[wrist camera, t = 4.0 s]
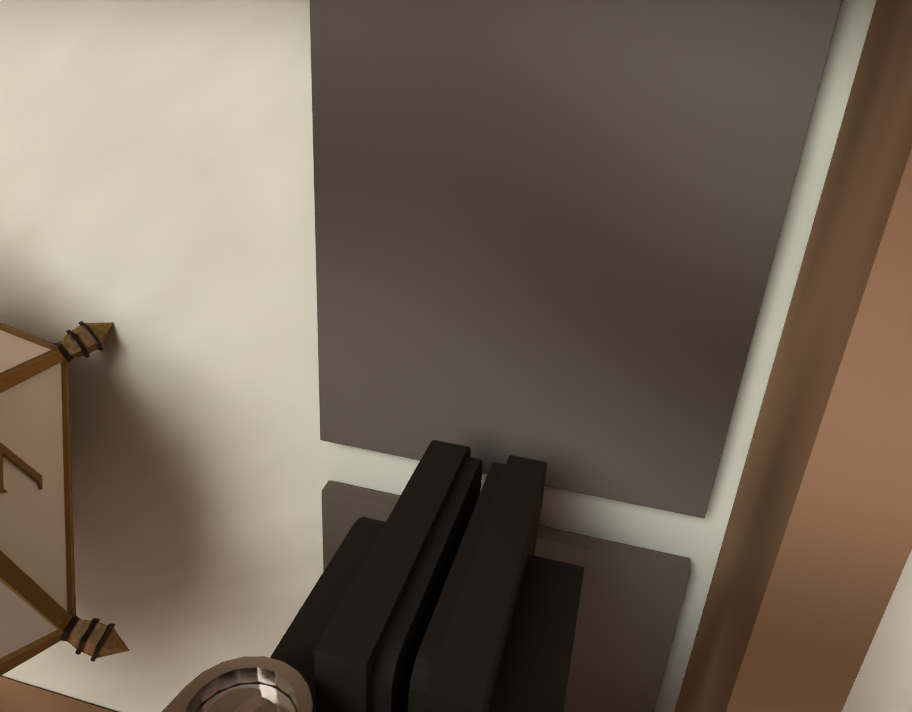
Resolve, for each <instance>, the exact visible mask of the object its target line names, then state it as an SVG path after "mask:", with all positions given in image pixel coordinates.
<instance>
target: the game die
mask: <svg viewBox="0 0 912 712" xmlns="http://www.w3.org/2000/svg"><path fill="white" fill-rule="evenodd" d="M79 324H80V326H79V327H77V328H76V329H74V330H72V331H71V330H67V331H66V332H67V335H66V336H65V337H64V338H63V339H62V340H61V341H60V342H59V343H55V344H52V343H50V342H47V341H45V340H42V339H40V338H37V337H35V336H32V335H30V334H27V333H24V332H22V331H19V330H17V329H14V328H12V327H9V326H7V325H4V324H2V323H0V676H1V675H3V674H5V673H6V672H8V671H10V670H11V669H13V668H15V667H16V666H18V665H20V664H22V663H23V662H25V661H27V660H28V659H30V658H32V657H33V656H35V655H37V654H39V653H40V652H42V651H44V650H45V649H47V648H49V647H51V646H52V645H54V644H56V643H57V642H59V641H61V640H62V641H68V642H69V643H70V644H71V645H73V646H74V647H75V648H76V649H77V650H76V654H78V655H79V654H80V653H81V652H83V653H85V654H88V655H90V656H92V657H91V661H93V662H94V661H95V659H96V658H98V657H102V656H107V655H112V654H116V653H121V652H125V651H129V649H128V648H127V646H126V645H125V643H124V642H123V641H122V639H121V638H120V636H119V635H118V633H117V632H116V631H115V629H114V626H115V624H112V623H110V624H109V625H105V624H102V623H99V620H100V619H97V618H93V619H92V621H89V620H81V619H79V618H78V617H77V616H76V601H75V569H74V538H73V506H72V474H71V442H70V411H69V379H68V362H69V361H71V360H72V359H74V358H78V357H81V356H85V357H86V358H88V357H89V353H91V352H93V351H94V350H96V349H99V350H100V351H101V350H103V348H102V344H103V342H104V340H105V338H106V336H107V334H108V332H109V330H110V328H111V326H112V324H113V323H84V322H82V321H81V322H79Z"/></svg>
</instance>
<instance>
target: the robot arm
mask: <svg viewBox="0 0 912 712" xmlns="http://www.w3.org/2000/svg"><path fill="white" fill-rule="evenodd" d="M482 468H483V461H482V459H477V458H472V457H471V449H470V447H468V446H463V445H458V444H453V443H448V442H443V441H438V440H432V441H431V443H430V444H429V446H428V448H427V450H426V451H425V453H424V455H423V457H422V458H421V460H420V462H419V464H418V466H417V467H416V469H415V471H414V473H413V475H412V476H411V478H410V480H409V482H408V483H407V485H406V487H405V489H404V491H403V492H402V494H401V496H400V498H399V499H398V501H397V503H396V505H395V507H394V508H393V510H392V512H391V514H390V516H389V517H388V519H387V521H386V522H384V521H380V520H376V519H371V518H367V517H361V518H359V519H357V521H356V522H355V523H354V524H353V526H352V527H351V529H350V530H349V532H348V534H347V535H346V537H345V538H344V540H343V542H342V543H341V545H340V546H339V548H338V550H337V551H336V553H335V554H334V556H333V558H332V559H331V561H330V562H329V564H328V566H327V567H326V569H325V571H324V572H323V574H322V575H321V577H320V579H319V580H318V582H317V583H316V585H315V587H314V588H313V590H312V591H311V593H310V595H309V596H308V598H307V599H306V601H305V603H304V604H303V606H302V607H301V609H300V611H299V612H298V614H297V615H296V617H295V619H294V620H293V622H292V623H291V625H290V627H289V628H288V630H287V631H286V633H285V635H284V636H283V638H282V639H281V641H280V643H279V644H278V646H277V647H276V649H275V651H274V652H273V654H272V656H271V657H270V658H268V657H241V658H237V659H233V660H229V661H225V662H222V663H220V664H218V665H216V666H214V667H212V668H210V669H208V670H206V671H204V672H202V673H201V674H200V675H199V676H197V677H196V678H195V679H194V680H193V681H191V682H190V683H189V684H188V685H187V686H186V687H185V688H184V689H183V690H182V691H181V692H180V693H179V694H178V695H177V696H176V697H175V698H174V699H173V700H172V701H171V703H170V704H169V705H168V706H167V707H166V708H165V709H164V710H163V711H162V712H563V711H564V704H565V698H566V691H567V684H568V677H569V670H570V663H571V656H572V650H573V643H574V636H575V629H576V622H577V615H578V608H579V601H580V595H581V588H582V581H583V574H584V567H583V566H579V565H574V564H570V563H565V562H561V561H557V560H552V559H548V558H543V557H539V556H535V548H536V541H537V534H538V527H539V520H540V513H541V506H542V499H543V492H544V485H545V478H546V471H547V462H544V461H538V460H533V459H528V458H523V457H518V456H513V455H509V457H508V459H507V462H506V464H502V463H497V462H493V463H492V465H491V467H490V470H489V472H488V475H487V477H486V480H485V483H484V485H483V488H482V490H481V493H480V489H481V479H482Z"/></svg>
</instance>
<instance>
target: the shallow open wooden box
mask: <svg viewBox="0 0 912 712" xmlns="http://www.w3.org/2000/svg"><path fill="white" fill-rule="evenodd" d="M841 1H842V0H310V31H311V72H312V113H313V154H314V195H315V236H316V277H317V318H318V358H319V399H320V440H323V441H328V442H333V443H338V444H343V445H347V446H352V447H357V448H362V449H367V450H372V451H377V452H382V453H387V454H392V455H396V456H401V457H406V458H411V459H416V460H421V458H422V457H423V455H424V453H425V451H426V450H427V448H428V446H429V444H430V443H431V441H432V440H438V441H443V442H448V443H453V444H458V445H463V446H468V447H470V449H471V457H472V458H477V459H482V461H483V468H482V473H485V474H488V472H489V470H490V467H491V465H492V463H493V462H497V463H502V464H506V462H507V459H508V457H509V455H513V456H518V457H523V458H528V459H533V460H538V461H544V462H547V471H546V478H545V485H544V486H548V487H553V488H558V489H563V490H568V491H573V492H578V493H583V494H588V495H592V496H597V497H602V498H607V499H612V500H617V501H622V502H627V503H632V504H636V505H641V506H646V507H651V508H656V509H661V510H666V511H671V512H676V513H681V514H685V515H690V516H695V517H700V518H705V514H706V510H707V506H708V502H709V499H710V495H711V491H712V487H713V484H714V480H715V476H716V472H717V469H718V465H719V461H720V457H721V453H722V450H723V446H724V442H725V438H726V435H727V431H728V427H729V423H730V419H731V416H732V412H733V408H734V404H735V401H736V397H737V393H738V389H739V386H740V382H741V378H742V374H743V370H744V367H745V363H746V359H747V355H748V352H749V348H750V344H751V340H752V337H753V333H754V329H755V325H756V321H757V318H758V314H759V310H760V306H761V303H762V299H763V295H764V291H765V287H766V284H767V280H768V276H769V272H770V269H771V265H772V261H773V257H774V254H775V250H776V246H777V242H778V238H779V235H780V231H781V227H782V223H783V220H784V216H785V212H786V208H787V204H788V201H789V197H790V193H791V189H792V186H793V182H794V178H795V174H796V171H797V167H798V163H799V159H800V155H801V152H802V148H803V144H804V140H805V137H806V133H807V129H808V125H809V121H810V118H811V114H812V110H813V106H814V103H815V99H816V95H817V91H818V88H819V84H820V80H821V76H822V72H823V69H824V65H825V61H826V57H827V54H828V50H829V46H830V42H831V38H832V35H833V31H834V27H835V23H836V20H837V16H838V12H839V8H840V5H841ZM399 498H400V496H398V495H394V494H389V493H384V492H380V491H375V490H371V489H366V488H361V487H357V486H352V485H347V484H343V483H338V482H334V481H328V483H327V484H326V485H325V487H324V488H323V489H322V522H323V563H324V571H325V569H326V567H327V566H328V564H329V562H330V561H331V559H332V558H333V556H334V554H335V553H336V551H337V550H338V548H339V546H340V545H341V543H342V542H343V540H344V538H345V537H346V535H347V534H348V532H349V530H350V529H351V527H352V526H353V524H354V523H355V522H356V521H357V519H359V518H361V517H367V518H371V519H376V520H380V521H384V522H386V521H387V519H388V517H389V516H390V514H391V512H392V510H393V508H394V507H395V505H396V503H397V501H398V499H399ZM911 549H912V0H877V1H876V5H875V8H874V12H873V15H872V19H871V22H870V26H869V30H868V33H867V37H866V40H865V44H864V47H863V51H862V54H861V58H860V61H859V65H858V68H857V72H856V75H855V79H854V82H853V86H852V89H851V93H850V96H849V100H848V103H847V107H846V110H845V114H844V117H843V121H842V124H841V128H840V132H839V135H838V139H837V142H836V146H835V149H834V153H833V156H832V160H831V163H830V167H829V170H828V174H827V177H826V181H825V184H824V188H823V191H822V195H821V198H820V202H819V205H818V209H817V212H816V216H815V219H814V223H813V227H812V230H811V234H810V237H809V241H808V244H807V248H806V251H805V255H804V258H803V262H802V265H801V269H800V272H799V276H798V279H797V283H796V286H795V290H794V293H793V297H792V300H791V304H790V307H789V311H788V314H787V318H786V322H785V325H784V329H783V332H782V336H781V339H780V343H779V346H778V350H777V353H776V357H775V360H774V364H773V367H772V371H771V374H770V378H769V381H768V385H767V388H766V392H765V395H764V399H763V402H762V406H761V409H760V413H759V417H758V420H757V424H756V427H755V431H754V434H753V438H752V441H751V445H750V448H749V452H748V455H747V459H746V462H745V466H744V469H743V473H742V476H741V480H740V483H739V487H738V490H737V494H736V497H735V501H734V504H733V508H732V512H731V515H730V519H729V522H728V526H727V529H726V533H725V536H724V540H723V543H722V547H721V550H720V554H719V557H718V561H717V564H716V568H715V571H714V575H713V578H712V582H711V585H710V589H709V592H708V596H707V599H706V603H705V606H704V610H703V614H702V617H701V621H700V624H699V628H698V631H697V635H696V638H695V642H694V645H693V649H692V652H691V656H690V659H689V663H688V666H687V670H686V673H685V677H684V680H683V684H682V687H681V691H680V694H679V698H678V701H677V705H676V709H675V712H841V711H842V709H843V707H844V704H845V702H846V700H847V697H848V695H849V693H850V691H851V688H852V686H853V684H854V681H855V679H856V677H857V674H858V672H859V670H860V667H861V665H862V663H863V660H864V658H865V656H866V654H867V651H868V649H869V647H870V644H871V642H872V640H873V637H874V635H875V633H876V630H877V628H878V626H879V623H880V621H881V619H882V617H883V614H884V612H885V610H886V607H887V605H888V603H889V600H890V598H891V596H892V593H893V591H894V589H895V586H896V584H897V582H898V580H899V577H900V575H901V573H902V570H903V568H904V566H905V563H906V561H907V559H908V556H909V554H910V552H911ZM535 556H539V557H543V558H548V559H552V560H557V561H561V562H565V563H570V564H574V565H579V566H583V567H584V574H583V581H582V588H581V595H580V601H579V608H578V615H577V622H576V629H575V636H574V643H573V650H572V656H571V663H570V670H569V677H568V684H567V691H566V698H565V704H564V711H563V712H653V710H654V706H655V702H656V699H657V695H658V691H659V687H660V684H661V680H662V676H663V672H664V668H665V665H666V661H667V657H668V653H669V650H670V646H671V642H672V638H673V635H674V631H675V627H676V623H677V619H678V616H679V612H680V608H681V604H682V601H683V597H684V593H685V589H686V585H687V582H688V578H689V574H690V558H685V557H680V556H676V555H671V554H667V553H662V552H657V551H653V550H648V549H643V548H639V547H634V546H630V545H625V544H620V543H616V542H611V541H606V540H602V539H597V538H593V537H588V536H583V535H579V534H574V533H569V532H565V531H560V530H556V529H551V528H546V527H542V526H539V527H538V534H537V541H536V548H535ZM0 712H114V711H111V710H108V709H104V708H101V707H98V706H95V705H91V704H88V703H85V702H82V701H78V700H75V699H72V698H69V697H65V696H62V695H59V694H56V693H52V692H49V691H46V690H43V689H40V688H36V687H33V686H30V685H27V684H23V683H20V682H17V681H14V680H10V679H7V678H4V677H1V676H0Z"/></svg>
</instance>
